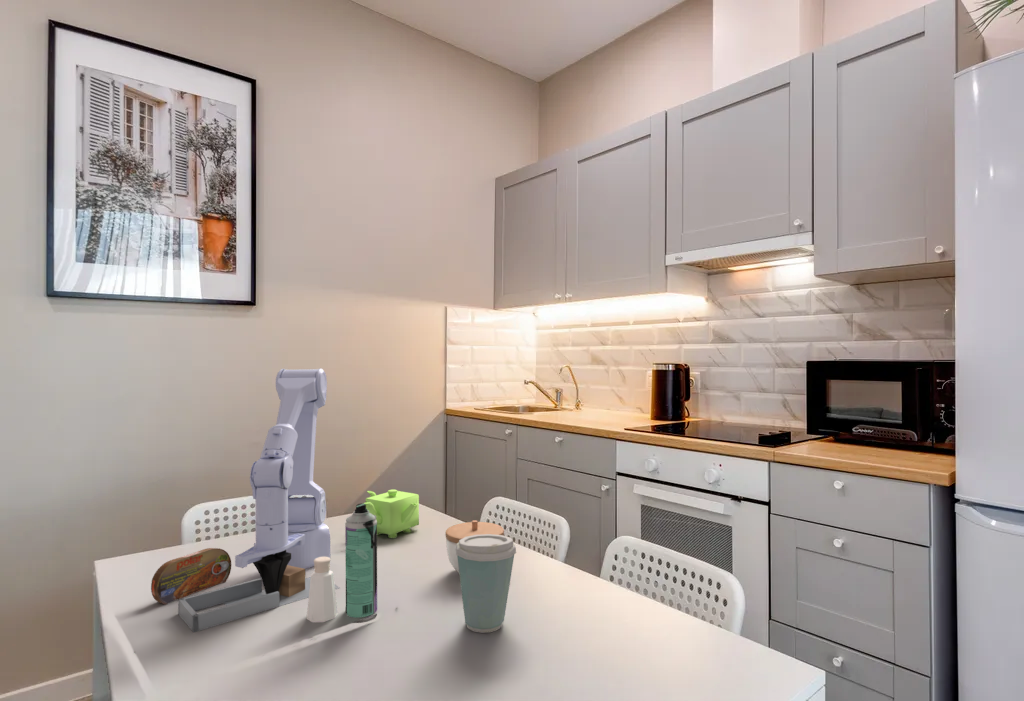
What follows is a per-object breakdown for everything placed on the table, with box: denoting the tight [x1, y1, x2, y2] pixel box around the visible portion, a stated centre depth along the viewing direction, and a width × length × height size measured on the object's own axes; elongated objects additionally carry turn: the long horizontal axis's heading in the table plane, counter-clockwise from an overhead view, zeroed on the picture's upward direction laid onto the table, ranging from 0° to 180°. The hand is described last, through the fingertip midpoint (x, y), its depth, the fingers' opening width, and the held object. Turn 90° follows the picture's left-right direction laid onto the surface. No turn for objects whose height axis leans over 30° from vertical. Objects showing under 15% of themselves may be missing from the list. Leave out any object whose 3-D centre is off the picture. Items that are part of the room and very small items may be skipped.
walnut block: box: [279, 565, 306, 597], centre depth 112 cm, size 4×5×4 cm
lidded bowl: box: [445, 519, 505, 576], centre depth 123 cm, size 13×13×11 cm
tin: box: [150, 547, 232, 606], centre depth 112 cm, size 15×3×8 cm, turn 151°
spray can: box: [344, 502, 378, 624], centre depth 103 cm, size 6×6×20 cm
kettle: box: [363, 489, 420, 539], centre depth 152 cm, size 15×14×11 cm
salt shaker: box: [306, 557, 339, 623], centre depth 101 cm, size 5×5×11 cm
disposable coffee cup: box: [455, 534, 517, 633], centre depth 99 cm, size 11×11×15 cm
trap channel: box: [177, 576, 341, 633], centre depth 107 cm, size 26×10×4 cm, turn 133°
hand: (272, 593), depth 109 cm, fingers closed
